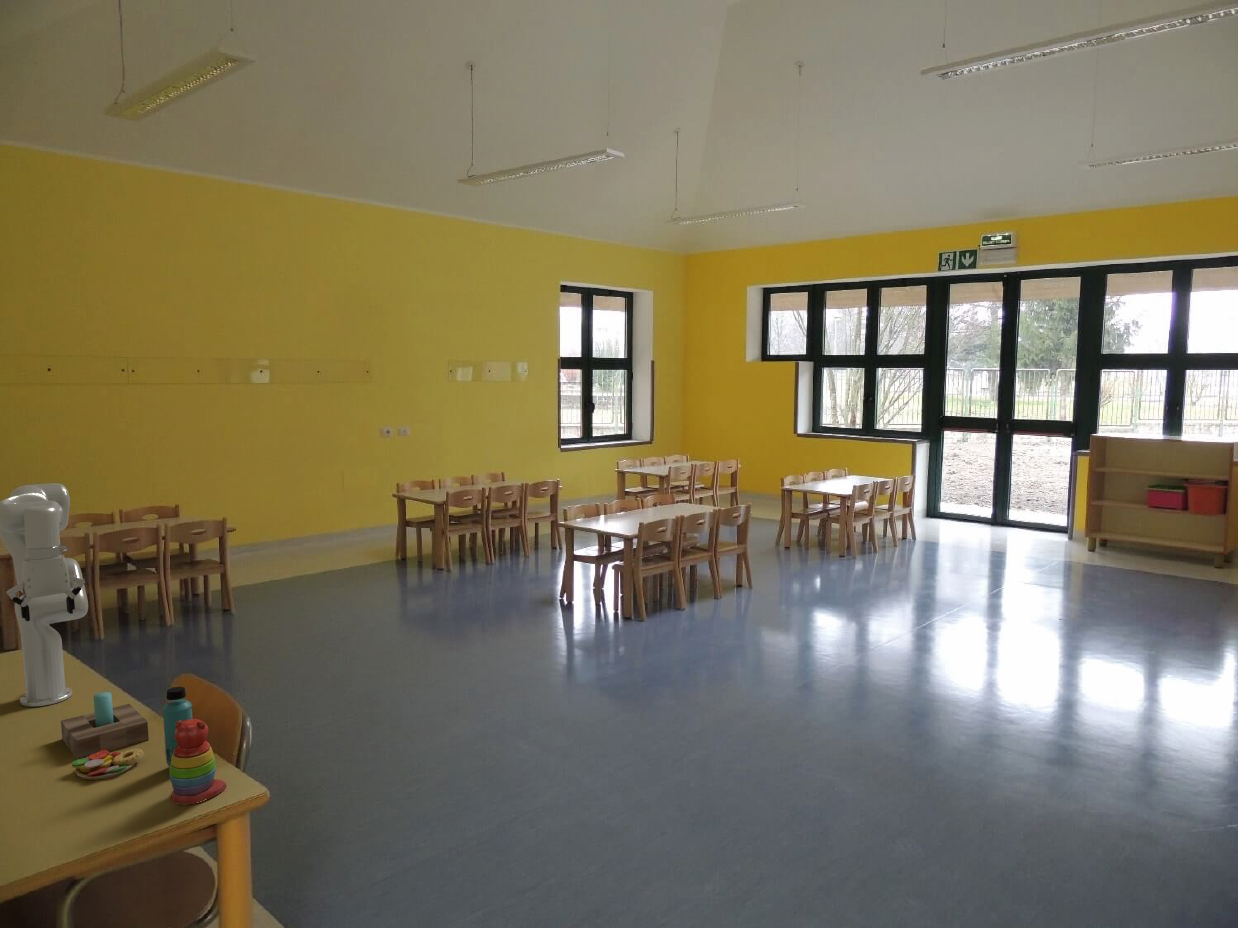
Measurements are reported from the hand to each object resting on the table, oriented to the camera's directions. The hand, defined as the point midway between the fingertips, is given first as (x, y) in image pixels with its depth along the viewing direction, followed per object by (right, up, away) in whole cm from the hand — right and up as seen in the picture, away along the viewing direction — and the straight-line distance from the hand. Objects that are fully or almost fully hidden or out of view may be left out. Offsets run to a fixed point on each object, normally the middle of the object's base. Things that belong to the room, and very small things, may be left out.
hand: (49, 616), depth 230 cm
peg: (+18, -31, -4) cm, 36 cm away
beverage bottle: (+45, -33, -20) cm, 59 cm away
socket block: (+17, -31, -4) cm, 36 cm away
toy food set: (+27, -34, -20) cm, 47 cm away
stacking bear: (+54, -35, -32) cm, 72 cm away
